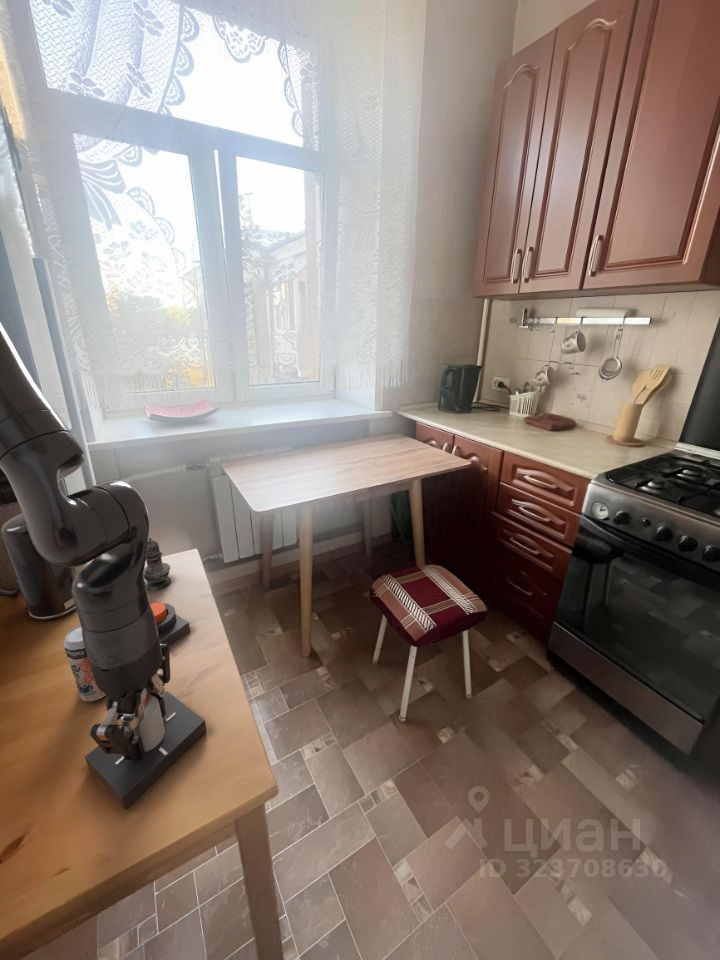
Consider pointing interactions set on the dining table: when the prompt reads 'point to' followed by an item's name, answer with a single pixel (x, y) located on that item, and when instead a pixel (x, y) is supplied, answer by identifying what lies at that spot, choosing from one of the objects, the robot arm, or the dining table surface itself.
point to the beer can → (81, 666)
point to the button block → (172, 627)
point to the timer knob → (151, 724)
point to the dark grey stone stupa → (155, 568)
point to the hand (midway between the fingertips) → (147, 735)
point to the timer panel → (148, 755)
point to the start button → (159, 611)
